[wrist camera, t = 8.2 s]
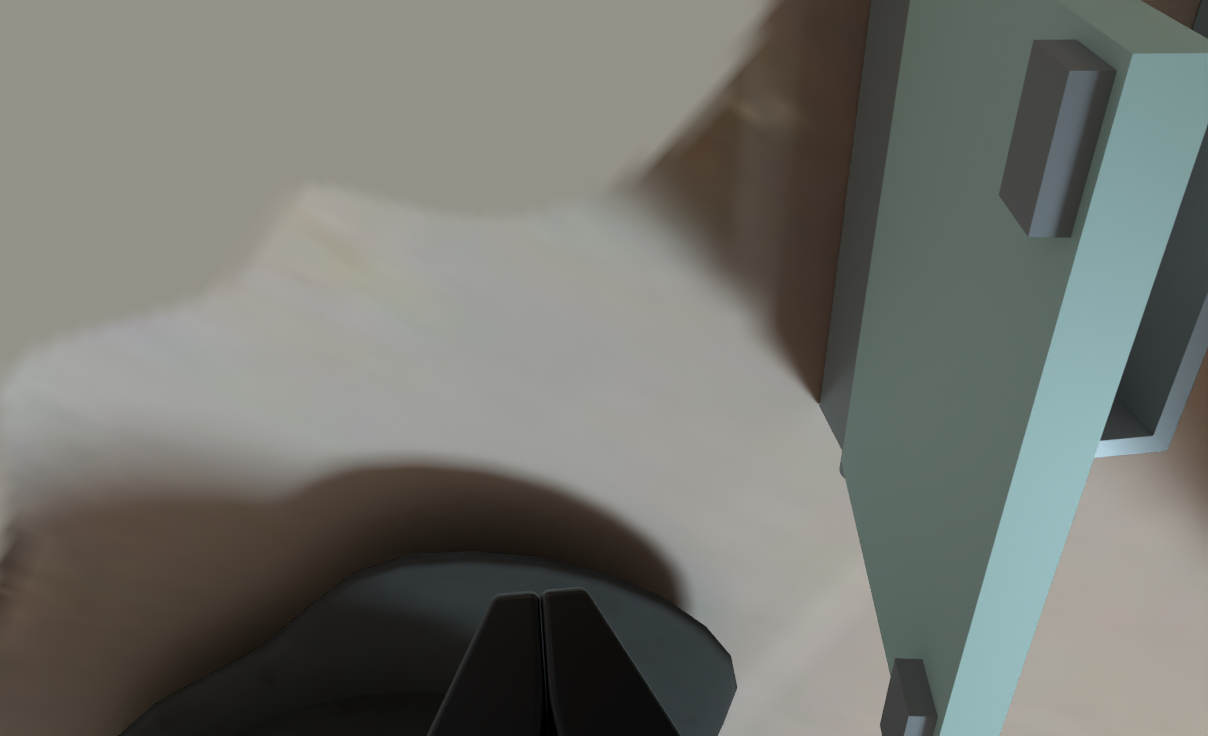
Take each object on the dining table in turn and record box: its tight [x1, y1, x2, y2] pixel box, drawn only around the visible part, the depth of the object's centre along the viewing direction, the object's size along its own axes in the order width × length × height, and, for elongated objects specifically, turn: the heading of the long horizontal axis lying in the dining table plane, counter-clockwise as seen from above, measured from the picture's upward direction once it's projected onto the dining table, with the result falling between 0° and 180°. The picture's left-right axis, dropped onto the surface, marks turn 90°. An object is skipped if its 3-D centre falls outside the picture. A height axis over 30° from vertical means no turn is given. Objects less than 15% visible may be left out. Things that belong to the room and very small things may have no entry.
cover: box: [840, 0, 1208, 736], centre depth 14 cm, size 12×8×1 cm
